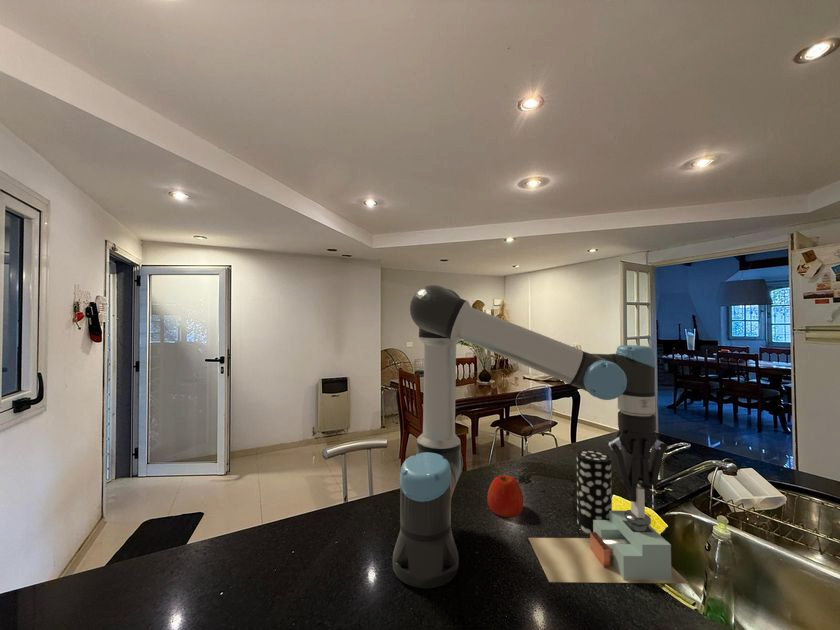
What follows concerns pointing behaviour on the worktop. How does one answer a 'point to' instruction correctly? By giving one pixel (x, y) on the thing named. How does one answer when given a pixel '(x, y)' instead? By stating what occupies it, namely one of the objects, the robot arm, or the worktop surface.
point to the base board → (580, 563)
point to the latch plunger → (637, 522)
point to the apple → (505, 497)
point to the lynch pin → (604, 548)
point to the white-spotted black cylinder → (593, 488)
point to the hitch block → (636, 549)
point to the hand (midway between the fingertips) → (637, 514)
